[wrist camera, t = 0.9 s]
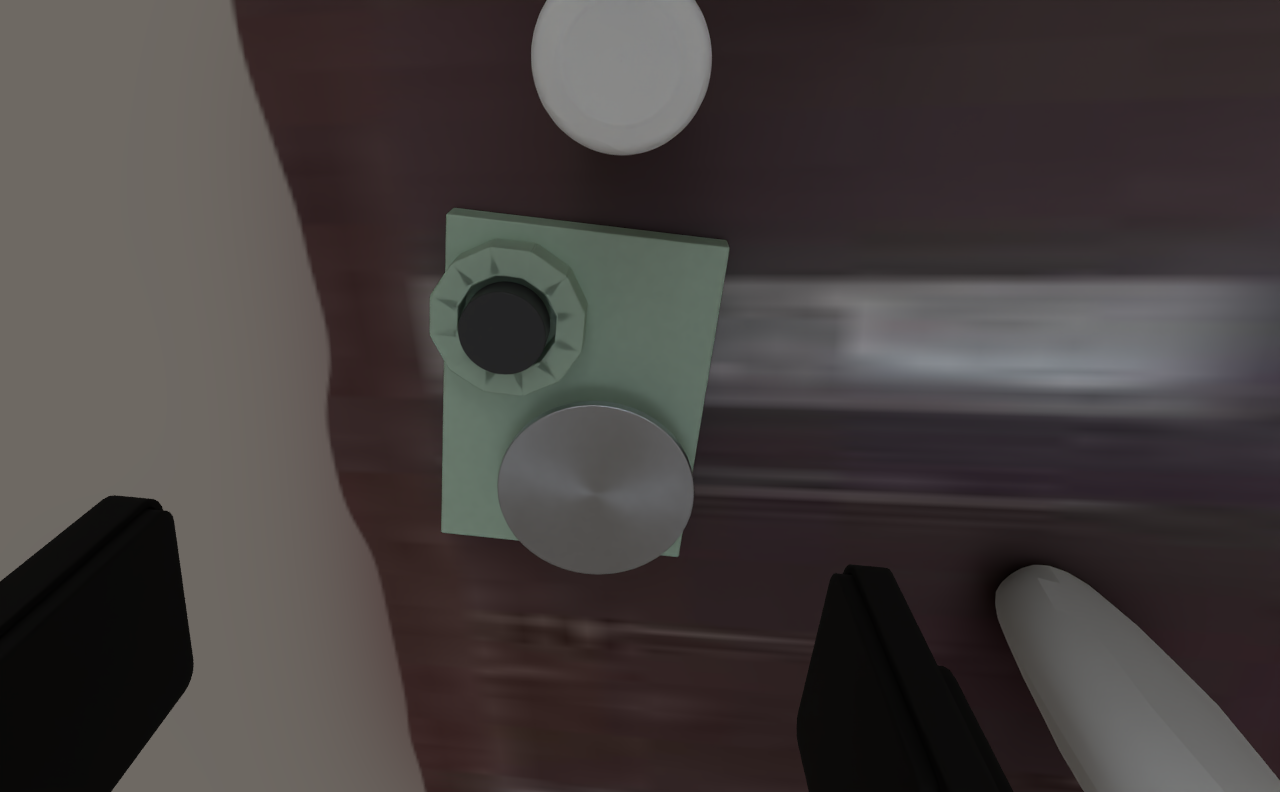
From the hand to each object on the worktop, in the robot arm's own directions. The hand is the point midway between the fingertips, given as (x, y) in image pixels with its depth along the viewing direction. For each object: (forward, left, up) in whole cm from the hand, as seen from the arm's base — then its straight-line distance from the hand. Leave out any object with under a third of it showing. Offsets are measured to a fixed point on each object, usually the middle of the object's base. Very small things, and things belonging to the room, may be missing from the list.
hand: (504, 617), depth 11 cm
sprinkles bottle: (-7, +1, -26) cm, 27 cm away
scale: (+8, 0, -26) cm, 27 cm away
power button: (+4, -3, -23) cm, 23 cm away
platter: (+11, +1, -23) cm, 25 cm away
